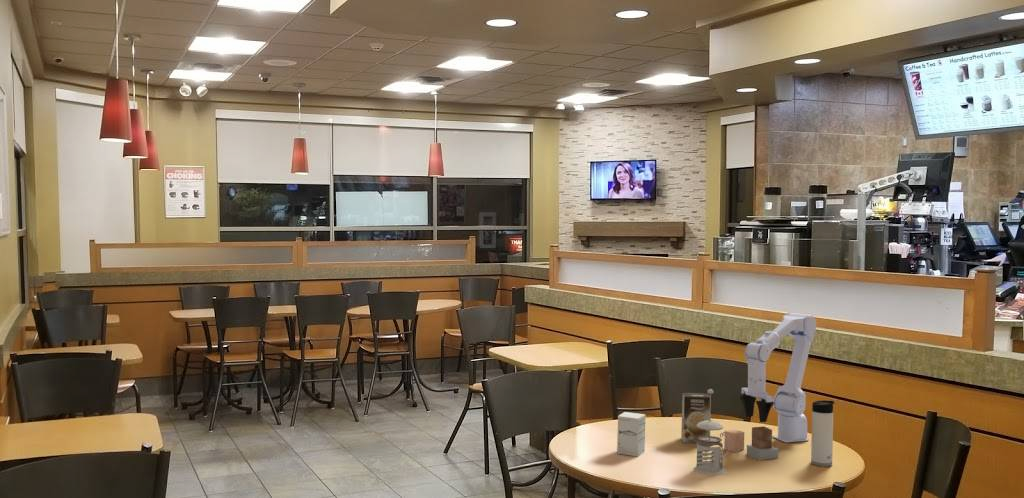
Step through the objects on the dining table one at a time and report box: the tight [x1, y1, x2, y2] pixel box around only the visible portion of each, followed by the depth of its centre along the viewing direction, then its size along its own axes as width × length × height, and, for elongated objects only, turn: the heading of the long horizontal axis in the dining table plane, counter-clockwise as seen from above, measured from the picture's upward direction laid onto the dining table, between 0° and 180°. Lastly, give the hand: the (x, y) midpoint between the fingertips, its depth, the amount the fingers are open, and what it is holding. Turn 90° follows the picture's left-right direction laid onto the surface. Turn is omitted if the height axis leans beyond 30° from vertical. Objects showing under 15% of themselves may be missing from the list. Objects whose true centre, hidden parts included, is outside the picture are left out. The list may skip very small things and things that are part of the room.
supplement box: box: [616, 411, 647, 458], centre depth 278 cm, size 7×7×13 cm
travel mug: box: [810, 400, 835, 467], centre depth 266 cm, size 6×7×20 cm
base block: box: [746, 444, 779, 461], centre depth 275 cm, size 7×7×3 cm
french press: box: [692, 388, 732, 476], centre depth 258 cm, size 10×12×25 cm
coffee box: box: [680, 392, 711, 444], centre depth 293 cm, size 9×6×16 cm
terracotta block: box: [723, 428, 745, 452], centre depth 283 cm, size 4×4×6 cm
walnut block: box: [751, 426, 773, 449], centre depth 274 cm, size 4×4×6 cm
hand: (756, 419), depth 284 cm, fingers open, 7 cm apart
